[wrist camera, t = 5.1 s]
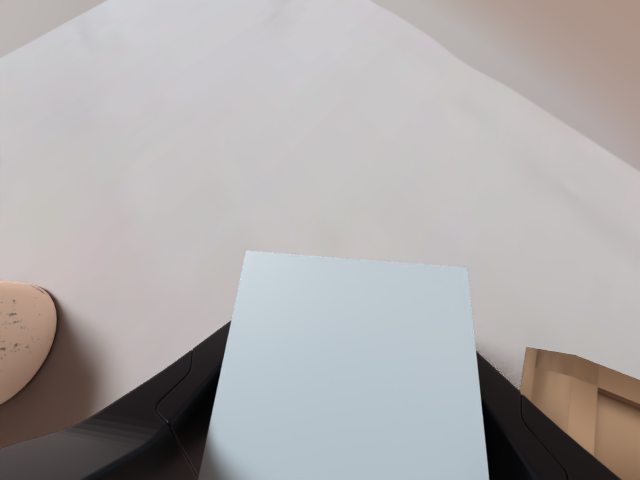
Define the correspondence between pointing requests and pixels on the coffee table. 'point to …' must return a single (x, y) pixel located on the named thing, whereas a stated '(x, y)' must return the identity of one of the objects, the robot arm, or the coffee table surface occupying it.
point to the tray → (588, 406)
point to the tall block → (348, 374)
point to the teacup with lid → (23, 334)
